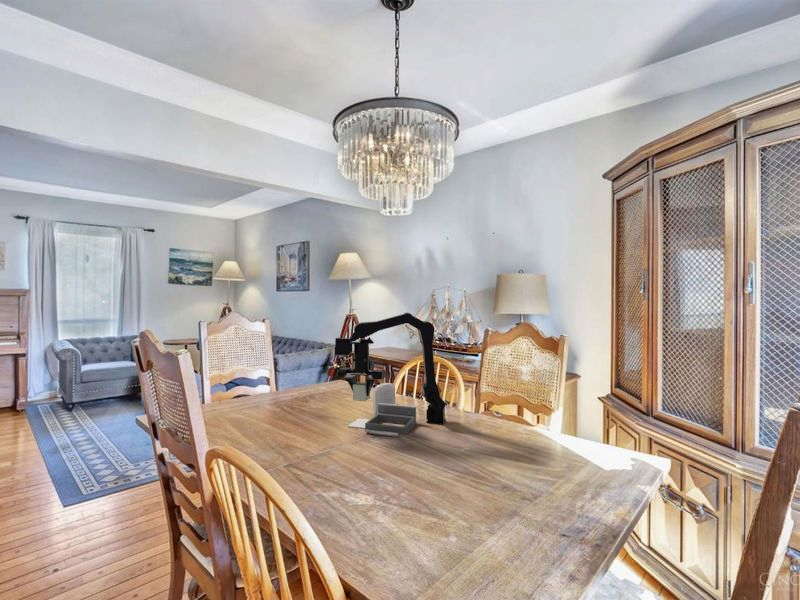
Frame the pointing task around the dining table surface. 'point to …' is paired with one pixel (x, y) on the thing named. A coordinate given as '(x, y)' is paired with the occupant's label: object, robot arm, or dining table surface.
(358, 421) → the pad
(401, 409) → the case lid open
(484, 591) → the dining table surface
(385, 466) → the dining table surface
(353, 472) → the dining table surface
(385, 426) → the case base
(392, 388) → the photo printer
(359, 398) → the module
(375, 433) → the rod
